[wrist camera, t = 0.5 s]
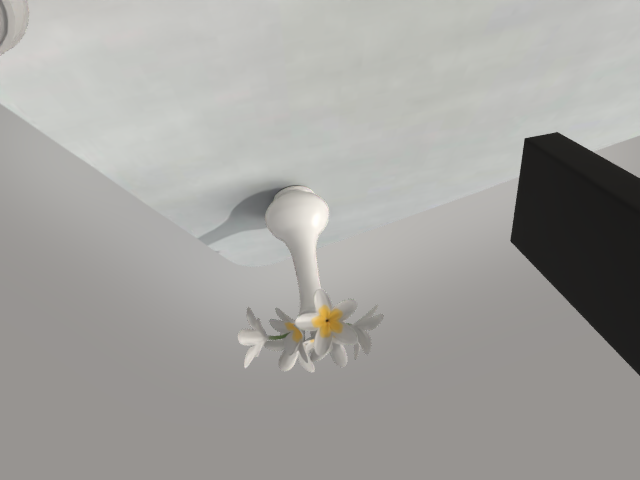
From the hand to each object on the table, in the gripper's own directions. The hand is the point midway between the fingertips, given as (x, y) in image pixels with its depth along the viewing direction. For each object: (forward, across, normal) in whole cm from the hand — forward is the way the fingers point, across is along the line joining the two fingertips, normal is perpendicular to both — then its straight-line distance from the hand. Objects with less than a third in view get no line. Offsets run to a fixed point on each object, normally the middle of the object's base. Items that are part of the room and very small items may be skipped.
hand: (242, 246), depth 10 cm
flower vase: (+51, +3, -26) cm, 58 cm away
